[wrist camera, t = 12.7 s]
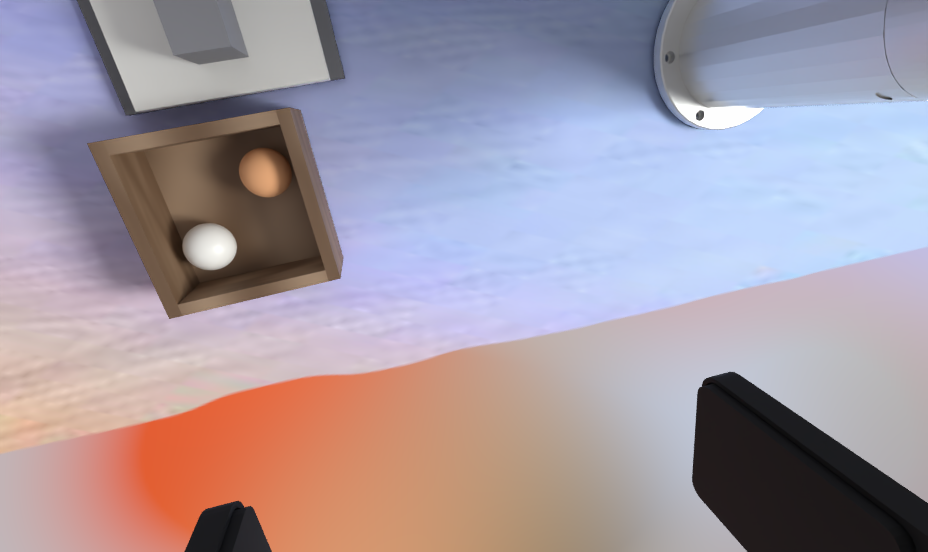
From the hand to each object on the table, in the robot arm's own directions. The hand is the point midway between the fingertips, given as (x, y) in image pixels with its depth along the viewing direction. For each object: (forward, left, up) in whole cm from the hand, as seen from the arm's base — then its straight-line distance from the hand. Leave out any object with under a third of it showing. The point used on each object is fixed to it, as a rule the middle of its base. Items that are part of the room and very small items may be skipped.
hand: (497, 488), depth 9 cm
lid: (+8, -17, -27) cm, 33 cm away
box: (+10, -4, -27) cm, 29 cm away
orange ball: (+8, -6, -25) cm, 27 cm away
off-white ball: (+13, -2, -25) cm, 28 cm away
